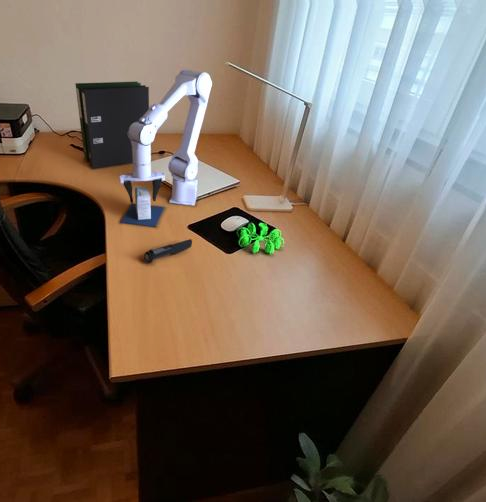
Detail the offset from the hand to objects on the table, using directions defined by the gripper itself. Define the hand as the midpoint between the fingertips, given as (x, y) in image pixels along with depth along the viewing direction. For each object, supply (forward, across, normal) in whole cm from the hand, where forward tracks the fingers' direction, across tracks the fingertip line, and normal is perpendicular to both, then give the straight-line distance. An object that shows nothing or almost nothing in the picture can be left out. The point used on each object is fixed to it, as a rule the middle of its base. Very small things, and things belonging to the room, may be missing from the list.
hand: (142, 200), depth 118 cm
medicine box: (+5, 0, 0) cm, 5 cm away
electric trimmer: (+6, -3, +24) cm, 25 cm away
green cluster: (+6, -33, +24) cm, 41 cm away
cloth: (+6, 0, 0) cm, 6 cm away
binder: (+6, +4, -54) cm, 54 cm away
